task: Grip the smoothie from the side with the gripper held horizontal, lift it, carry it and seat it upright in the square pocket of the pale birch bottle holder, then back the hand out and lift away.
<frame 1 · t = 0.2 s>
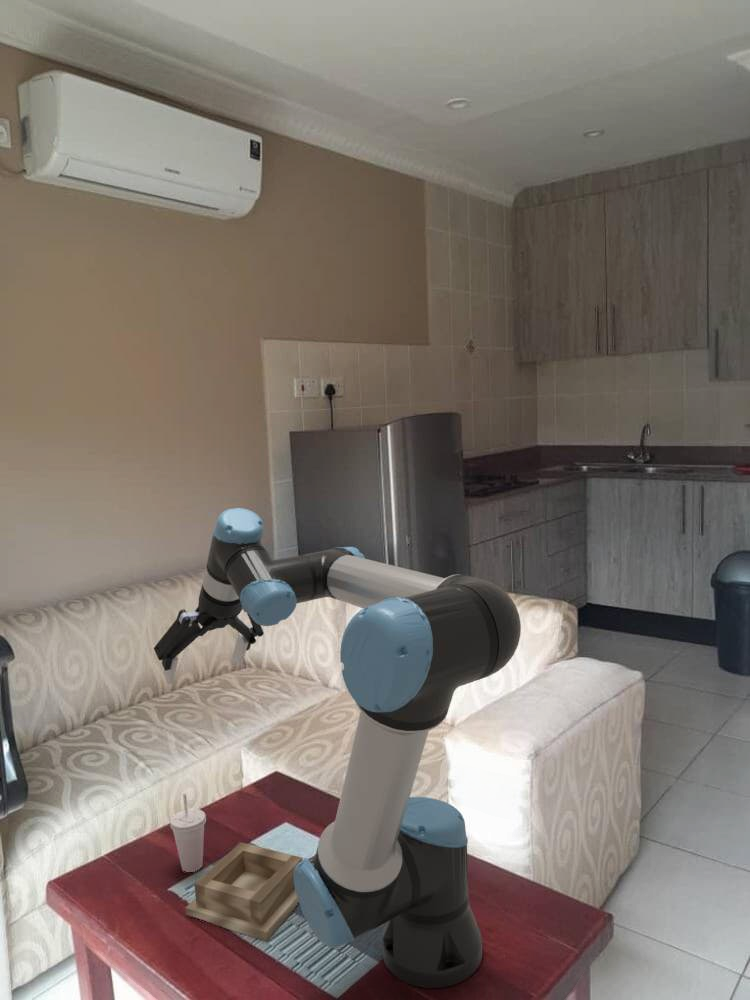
hand: (203, 669, 145), 35 cm above the table, tool tilted 35°, fingers open, 13 cm apart
smoothie: (192, 867, 143), on the table
bottle holder: (251, 900, 133), on the table
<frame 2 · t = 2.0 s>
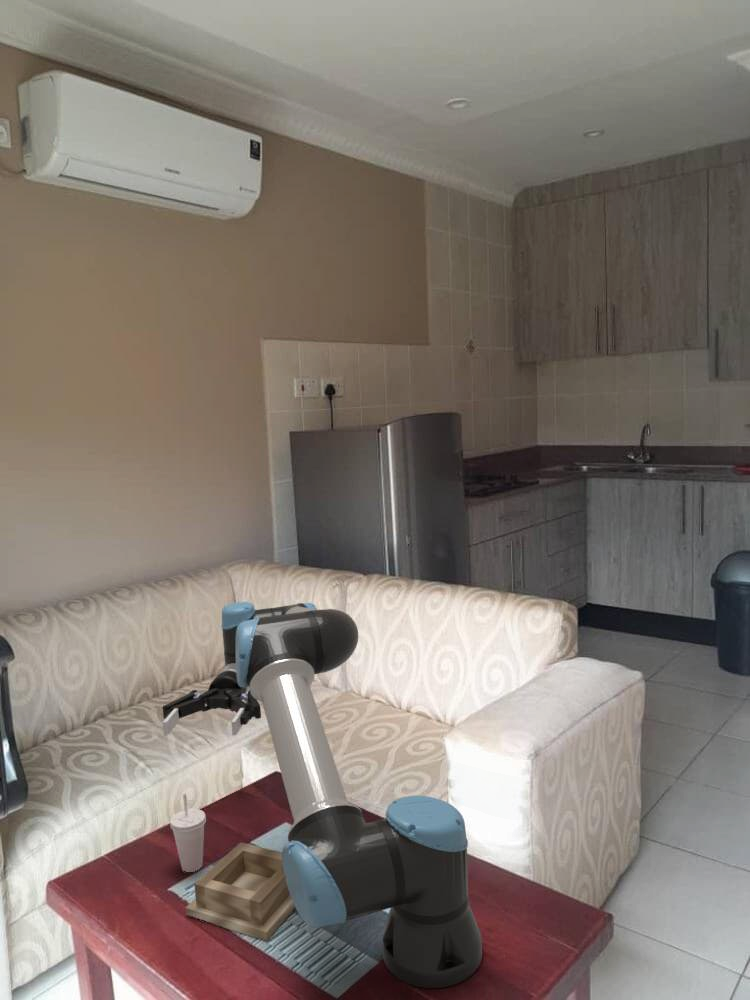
hand: (199, 728, 150), 22 cm above the table, tool horizontal, fingers open, 13 cm apart
nothing on the table moved.
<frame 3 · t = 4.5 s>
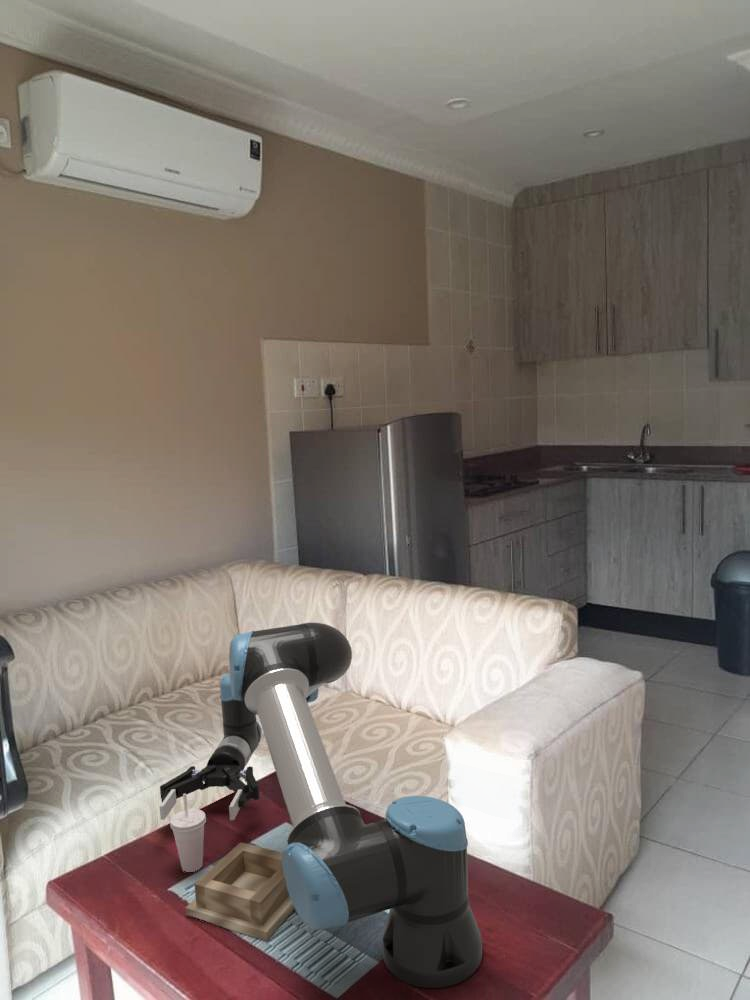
hand: (196, 813, 148), 7 cm above the table, tool horizontal, fingers open, 13 cm apart
nothing on the table moved.
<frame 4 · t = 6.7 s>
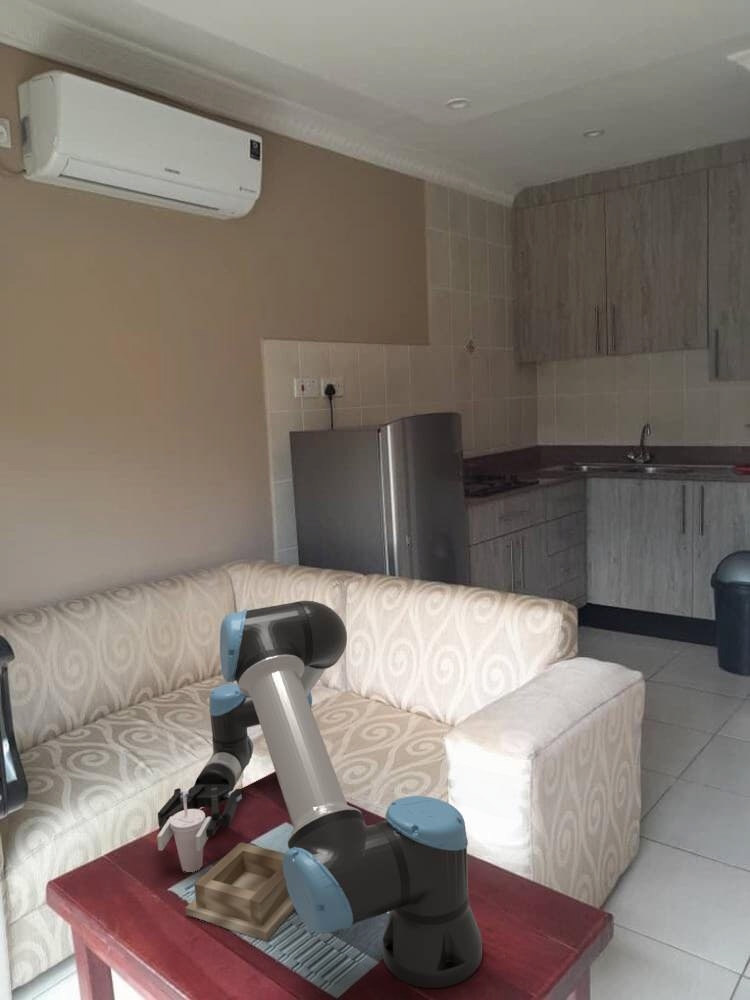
hand: (179, 843, 137), 8 cm above the table, tool horizontal, fingers closed on smoothie, 6 cm apart
smoothie: (192, 867, 143), on the table, touching gripper
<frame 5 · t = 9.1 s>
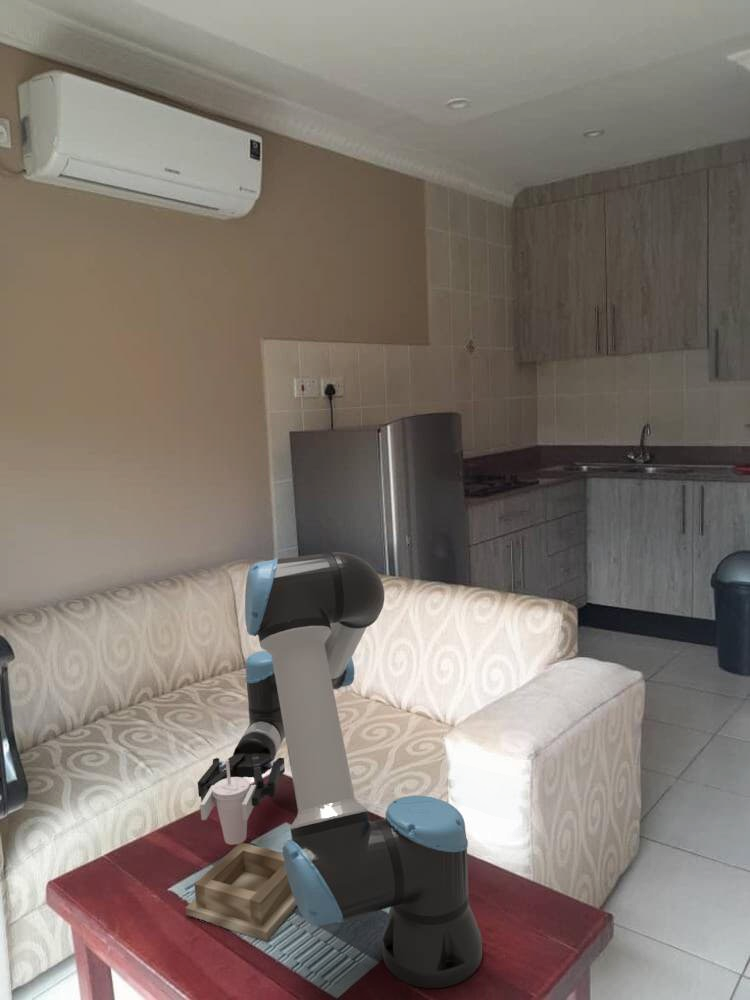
hand: (223, 812, 128), 18 cm above the table, tool horizontal, fingers closed on smoothie, 6 cm apart
smoothie: (235, 839, 134), point 10 cm above the table, touching gripper
when the fingers open (11 cm above the table, at t = 11.5 s): smoothie drops 1 cm, resting on bottle holder.
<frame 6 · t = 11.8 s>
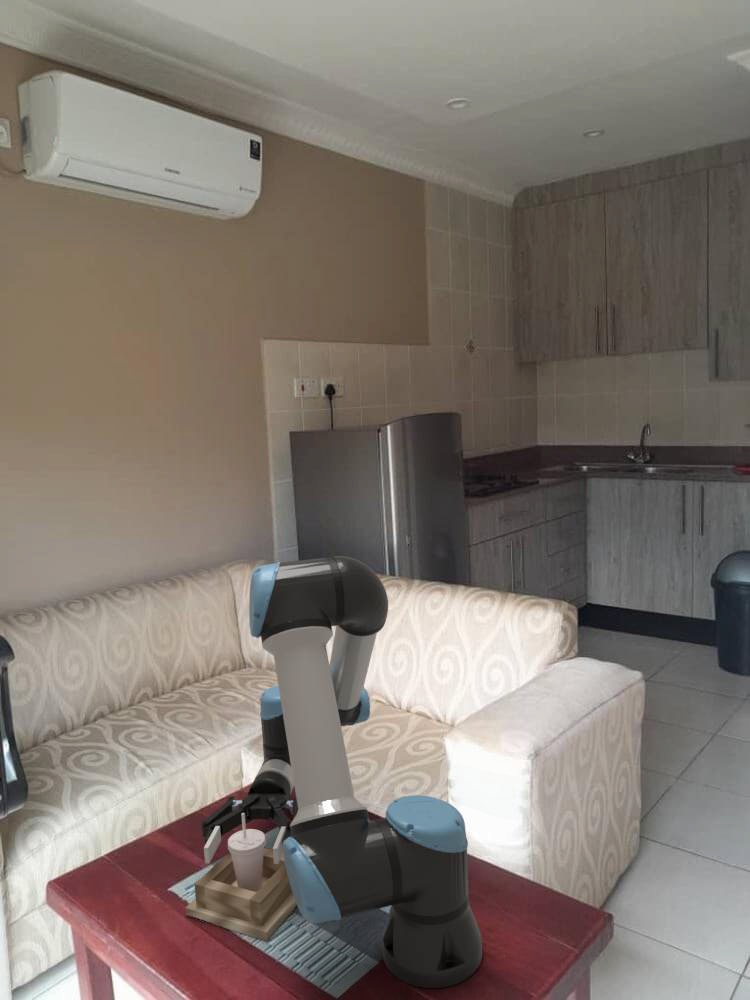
hand: (240, 855, 127), 11 cm above the table, tool horizontal, fingers open, 11 cm apart
smoothie: (250, 892, 133), point 1 cm above the table, touching bottle holder
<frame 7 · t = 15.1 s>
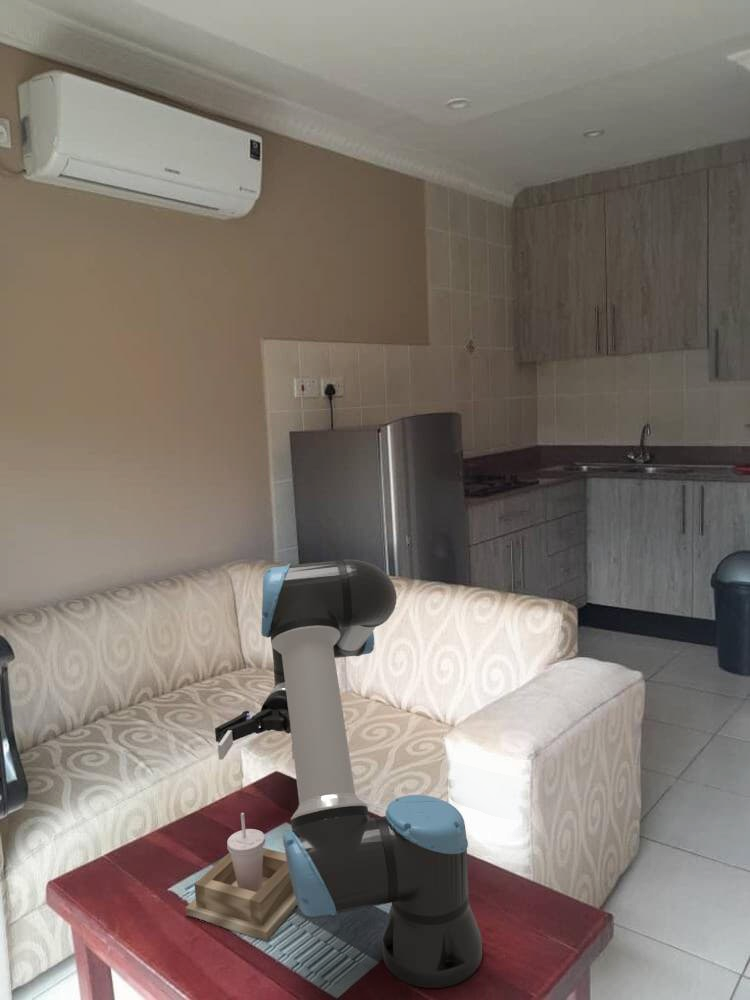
hand: (256, 752, 140), 22 cm above the table, tool horizontal, fingers open, 13 cm apart
nothing on the table moved.
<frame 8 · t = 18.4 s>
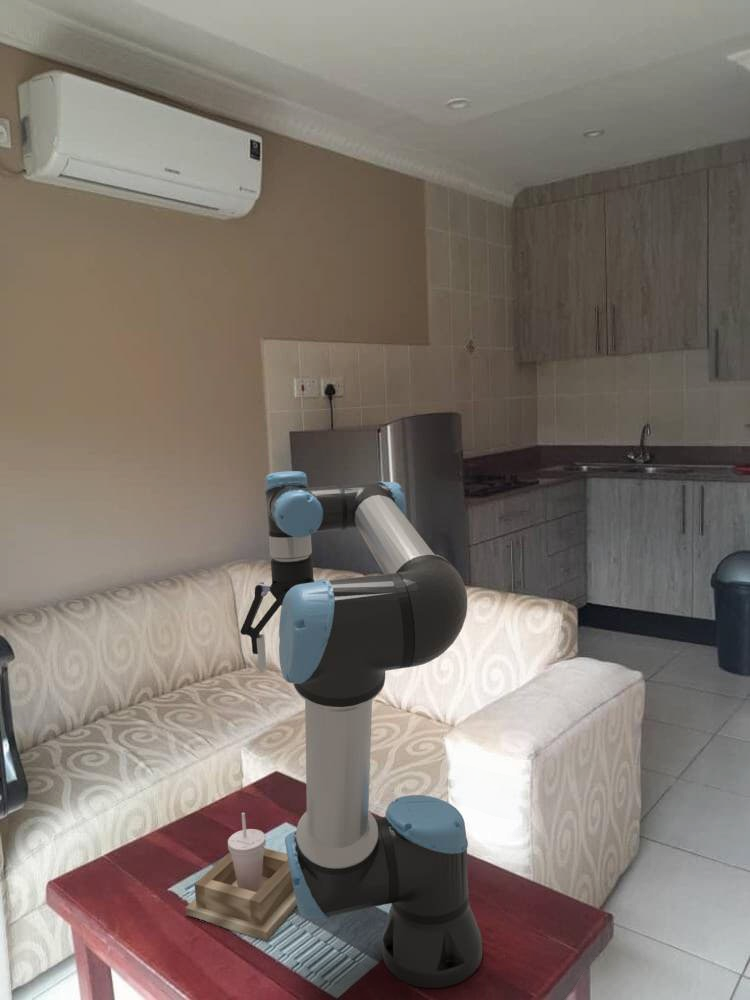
hand: (298, 670, 144), 35 cm above the table, tool pointing down, fingers open, 13 cm apart
nothing on the table moved.
at the end: smoothie 0.2 cm off-centre on the bottle holder, point 1.3 cm above the bottle holder's base; smoothie tilted 0°; the gripper is holding nothing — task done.
